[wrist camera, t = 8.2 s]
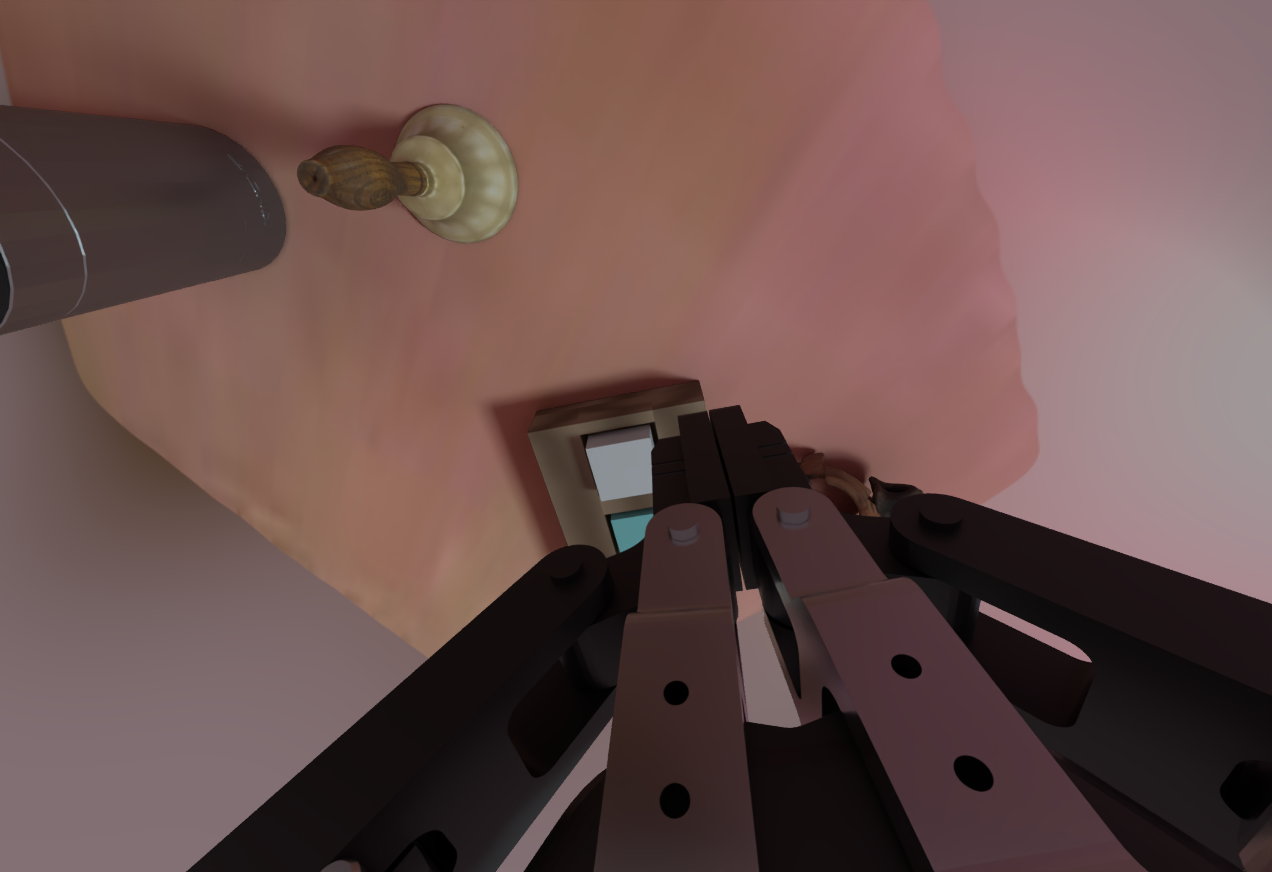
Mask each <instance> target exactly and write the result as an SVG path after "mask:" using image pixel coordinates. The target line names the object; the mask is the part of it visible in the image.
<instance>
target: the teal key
mask: <svg viewBox="0 0 1272 872" xmlns="http://www.w3.org/2000/svg"><path fill="white" fill-rule="evenodd" d="M652 517H653V507H649V508H643V509H637V510H631V511H625V512H619V513H612V514H611V523H612V527H613V530H614V533H615V537H616V540H617V543H618V547H619V550H620V552H623V551H625V550H627V549H629V548H631V547H633V546H634V545H636V544H637V543H639V542H640V541H641V540H642V539H643V538H644V537H645V530H646V526H647V524H648V522H649V521H650V519H651V518H652Z"/></svg>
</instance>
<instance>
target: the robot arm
mask: <svg viewBox="0 0 1272 872" xmlns="http://www.w3.org/2000/svg"><path fill="white" fill-rule="evenodd" d="M285 235H286V218H285V214H284V209H283V205H282V202H281V199H280V197H279V194H278V192H277V189H276V187H275V186H274V184H273V182H272V181H271V179H270V177H269V176H268V174H267V173H266V171H265V170H264V169H263V168H262V167H261V165H260V164H259V163H258V162H257V160H256V159H255V158H254V157H253V156H252V155H250V154H249V153H248V152H247V151H246V150H245V149H244V148H243V147H242V146H240V145H239V144H237V143H236V142H234V141H233V140H231V139H230V138H228V137H227V136H225V135H223V134H220V133H218V132H216V131H214V130H211V129H208V128H204V127H199V126H195V125H186V124H177V123H167V122H158V121H148V120H141V119H132V118H122V117H112V116H103V115H93V114H83V113H73V112H64V111H54V110H44V109H34V108H25V107H15V106H5V105H0V335H3V334H7V333H11V332H15V331H18V330H23V329H26V328H31V327H35V326H38V325H42V324H46V323H49V322H53V321H56V320H61V319H65V318H69V317H72V316H76V315H80V314H84V313H88V312H92V311H96V310H100V309H104V308H108V307H112V306H116V305H120V304H124V303H128V302H132V301H136V300H140V299H143V298H147V297H151V296H155V295H159V294H163V293H167V292H171V291H175V290H179V289H183V288H187V287H191V286H195V285H199V284H203V283H207V282H211V281H215V280H219V279H223V278H227V277H231V276H235V275H239V274H242V273H246V272H250V271H254V270H258V269H261V268H263V267H265V266H266V265H268V264H270V263H271V262H272V261H273V260H274V259H275V258H276V257H277V256H278V254H279V252H280V250H281V249H282V247H283V244H284V239H285ZM709 416H710V420H709V417H708V413H707V411H702V412H696V413H690V414H685V415H679V416H677V417H678V424H679V431H680V436H674V437H668V438H662V439H659V440H658V442H657V443H656V445H655V446H654V448H653V449H652V451H651V465H652V495H653V517H652V518H651V519H650V521H649V522H648V524H647V526H646V530H645V537H644V538H643V539H642V540H641V541H640V542H639V543H637V544H636V545H634V546H633V547H631V548H629V549H627V550H625V551H623V552H620V553H618V554H615V555H613V556H610V557H608V558H606V557H605V555H604V554H603V553H602V552H601V551H600V550H599V549H597V548H595V547H593V546H590V545H581V544H577V545H570V546H566V547H563V548H560V549H557V550H555V551H553V552H551V553H550V554H548V555H547V556H545V557H544V558H543V559H541V560H540V561H539V562H538V563H537V564H536V565H535V566H534V567H532V568H531V569H530V570H529V571H528V572H527V573H526V574H524V575H523V576H522V577H521V578H520V579H519V580H518V581H516V582H515V583H514V584H513V585H512V586H511V587H510V588H508V589H507V590H506V591H505V592H504V593H503V594H502V595H501V596H499V597H498V598H497V599H496V600H495V601H494V602H493V603H491V604H490V605H489V606H488V607H487V608H486V609H485V610H483V611H482V612H481V613H480V614H479V615H478V616H477V617H475V618H474V619H473V620H472V621H471V622H470V623H469V624H468V625H466V626H465V627H464V628H463V629H462V630H461V631H460V632H458V633H457V634H456V635H455V636H454V637H453V638H452V639H450V640H449V641H448V642H447V643H446V644H445V645H444V646H442V647H441V648H440V649H439V650H438V651H437V652H436V653H435V654H433V655H432V656H431V657H430V658H429V659H428V660H427V661H425V663H423V664H422V665H421V666H420V667H419V668H418V669H416V670H415V671H414V672H413V673H412V674H411V675H410V676H408V677H407V678H406V679H405V680H404V681H403V682H402V683H400V684H399V685H398V686H397V687H396V688H395V689H394V690H393V691H391V692H390V693H389V694H388V695H387V696H386V697H384V698H383V699H382V700H381V701H380V702H379V703H378V704H377V705H375V706H374V707H373V708H372V709H371V710H370V711H369V712H367V713H366V714H365V715H364V716H363V717H362V718H361V719H359V720H358V721H357V722H356V723H355V724H354V725H353V726H352V727H351V728H349V729H348V730H347V731H346V732H345V733H344V734H342V735H341V736H340V737H339V738H338V739H337V740H336V741H334V742H333V743H332V744H331V745H330V746H329V747H328V748H327V749H325V750H324V751H323V752H322V753H321V754H320V755H318V756H317V757H316V758H315V759H314V760H313V761H312V762H311V763H309V764H308V765H307V766H306V767H305V768H304V769H303V770H302V771H300V772H299V773H298V774H297V775H296V776H295V777H293V778H292V779H291V780H290V781H289V782H288V783H287V784H285V785H284V786H283V787H282V788H281V789H280V790H279V791H278V792H276V793H275V794H274V795H273V796H272V797H271V798H270V799H268V800H267V801H266V802H265V803H264V804H263V805H262V806H260V807H259V808H258V809H257V810H256V811H255V812H254V813H252V814H251V815H250V816H249V817H248V818H247V819H246V820H245V821H243V822H242V823H241V824H240V825H239V826H238V827H237V828H235V829H234V830H233V831H232V832H231V833H230V834H229V835H227V836H226V837H225V838H224V839H223V840H222V841H221V842H219V843H218V844H217V845H216V846H215V847H214V848H213V849H212V850H210V851H209V852H208V853H207V854H206V855H205V856H204V857H202V858H201V859H200V860H199V861H198V862H197V863H196V864H194V865H193V866H192V867H191V868H190V869H189V870H188V871H186V872H496V871H497V869H498V868H499V867H500V865H501V864H502V863H503V861H504V860H505V858H506V857H507V856H508V854H509V853H510V852H511V851H512V849H513V848H514V847H515V845H516V844H517V843H518V841H519V840H520V839H521V837H522V836H523V835H524V833H525V832H526V831H527V829H528V828H529V826H530V825H531V824H532V823H533V821H534V820H535V819H536V818H537V816H538V815H539V814H540V812H541V811H542V810H543V808H544V807H545V806H546V804H547V803H548V802H549V800H550V799H551V798H552V796H553V795H554V794H555V792H556V791H557V790H558V788H559V787H560V786H561V784H562V783H563V782H564V780H565V779H566V778H567V776H568V775H569V774H570V772H571V771H572V770H573V768H574V767H575V766H576V765H577V763H578V762H579V760H580V759H581V758H582V757H583V755H584V754H585V753H586V751H587V750H588V749H589V747H590V746H591V745H592V743H593V742H594V741H595V739H596V738H597V737H598V735H599V734H600V733H601V731H602V730H603V729H604V727H605V726H606V725H607V723H608V722H609V721H610V719H611V718H612V717H613V721H612V728H611V736H610V744H609V753H608V761H607V768H606V769H605V770H604V771H602V772H601V773H600V774H598V775H597V776H596V777H595V778H594V779H593V780H592V781H591V782H590V783H589V784H588V785H586V786H585V787H584V788H583V790H582V791H581V792H580V793H579V794H578V795H577V797H576V798H575V799H574V800H573V801H572V802H571V804H570V805H569V806H568V808H567V809H566V810H565V812H564V813H563V815H562V816H561V818H560V819H559V820H558V822H557V823H556V825H555V826H554V828H553V829H552V831H551V832H550V834H549V835H548V836H547V838H546V839H545V841H544V843H543V844H542V845H541V847H540V848H539V850H538V851H537V853H536V854H535V856H534V857H533V859H532V860H531V862H530V863H529V865H528V866H527V868H526V869H525V871H524V872H1272V604H1270V603H1268V602H1265V601H1261V600H1259V599H1256V598H1253V597H1250V596H1247V595H1244V594H1241V593H1238V592H1235V591H1232V590H1229V589H1226V588H1223V587H1220V586H1217V585H1214V584H1212V583H1209V582H1205V581H1202V580H1200V579H1197V578H1194V577H1191V576H1188V575H1185V574H1182V573H1179V572H1176V571H1173V570H1170V569H1167V568H1164V567H1161V566H1158V565H1155V564H1152V563H1149V562H1147V561H1143V560H1141V559H1138V558H1135V557H1132V556H1129V555H1126V554H1123V553H1120V552H1117V551H1114V550H1111V549H1108V548H1105V547H1102V546H1099V545H1096V544H1093V543H1090V542H1087V541H1084V540H1082V539H1079V538H1076V537H1072V536H1070V535H1067V534H1063V533H1061V532H1058V531H1055V530H1052V529H1049V528H1046V527H1043V526H1040V525H1037V524H1034V523H1031V522H1028V521H1025V520H1022V519H1019V518H1016V517H1013V516H1011V515H1008V514H1005V513H1002V512H999V511H995V510H993V509H990V508H987V507H984V506H981V505H978V504H975V503H972V502H969V501H966V500H963V499H960V498H957V497H953V496H949V495H944V494H931V493H926V494H917V495H912V496H908V497H905V498H903V499H901V500H900V501H898V502H897V503H896V504H895V505H894V506H893V507H892V510H891V513H890V517H875V516H861V515H853V514H848V513H844V512H841V511H838V510H837V508H836V507H835V506H834V504H833V503H832V502H831V501H830V499H828V498H827V497H826V496H825V495H823V494H821V493H819V492H817V491H814V490H812V489H811V487H810V485H809V483H808V481H807V479H806V478H805V476H804V474H803V472H802V470H801V468H800V466H799V464H798V463H797V461H796V459H795V457H794V455H792V451H791V450H790V448H789V446H788V444H787V443H786V440H785V438H784V437H783V435H782V433H781V431H780V430H779V429H778V428H776V427H774V426H773V425H771V424H770V423H768V422H766V421H761V422H755V423H750V424H747V421H746V419H745V417H744V414H743V412H742V409H741V407H740V405H735V406H730V407H724V408H718V409H713V410H709ZM739 563H740V565H739ZM740 567H741V571H742V575H743V579H744V583H745V587H746V590H749V589H756V588H758V589H759V593H760V596H761V600H762V606H763V615H764V622H765V626H766V628H767V631H768V634H769V636H770V639H771V642H772V645H773V647H774V650H775V653H776V655H777V658H778V661H779V663H780V666H781V669H782V671H783V674H784V677H785V680H786V682H787V685H788V688H789V691H790V693H791V696H792V698H793V701H794V704H795V707H796V710H797V713H798V716H799V719H800V723H801V726H799V727H794V728H784V727H778V726H771V725H764V724H758V723H752V722H749V721H748V713H747V705H746V696H745V687H744V679H743V671H742V662H741V654H740V646H739V637H738V629H737V622H736V620H737V617H738V605H737V598H736V591H743V588H742V580H741V573H740ZM981 600H982V601H984V602H986V603H989V604H991V605H993V606H995V607H997V608H999V609H1001V610H1003V611H1006V612H1008V613H1010V614H1012V615H1014V616H1016V617H1018V618H1021V619H1023V620H1025V621H1027V622H1029V623H1031V624H1033V625H1035V626H1038V627H1040V628H1042V629H1044V630H1046V631H1048V632H1050V633H1053V634H1055V635H1057V636H1059V637H1061V638H1063V639H1065V640H1067V641H1069V642H1071V643H1072V644H1074V645H1076V646H1077V647H1078V648H1080V649H1081V650H1082V651H1083V652H1084V653H1085V654H1086V655H1087V656H1088V657H1089V658H1090V659H1091V661H1092V662H1086V661H1082V660H1079V659H1076V658H1074V657H1071V656H1070V655H1067V654H1066V653H1064V652H1062V651H1059V650H1057V649H1055V648H1053V647H1051V646H1049V645H1047V644H1045V643H1043V642H1041V641H1039V640H1037V639H1035V638H1033V637H1031V636H1028V635H1027V634H1024V633H1022V632H1020V631H1018V630H1016V629H1014V628H1012V627H1010V626H1008V625H1006V624H1004V623H1002V622H1000V621H998V620H996V619H993V618H991V617H989V616H987V615H985V614H983V613H981V612H979V606H980V601H981ZM1243 870H1244V871H1243Z"/></svg>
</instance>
